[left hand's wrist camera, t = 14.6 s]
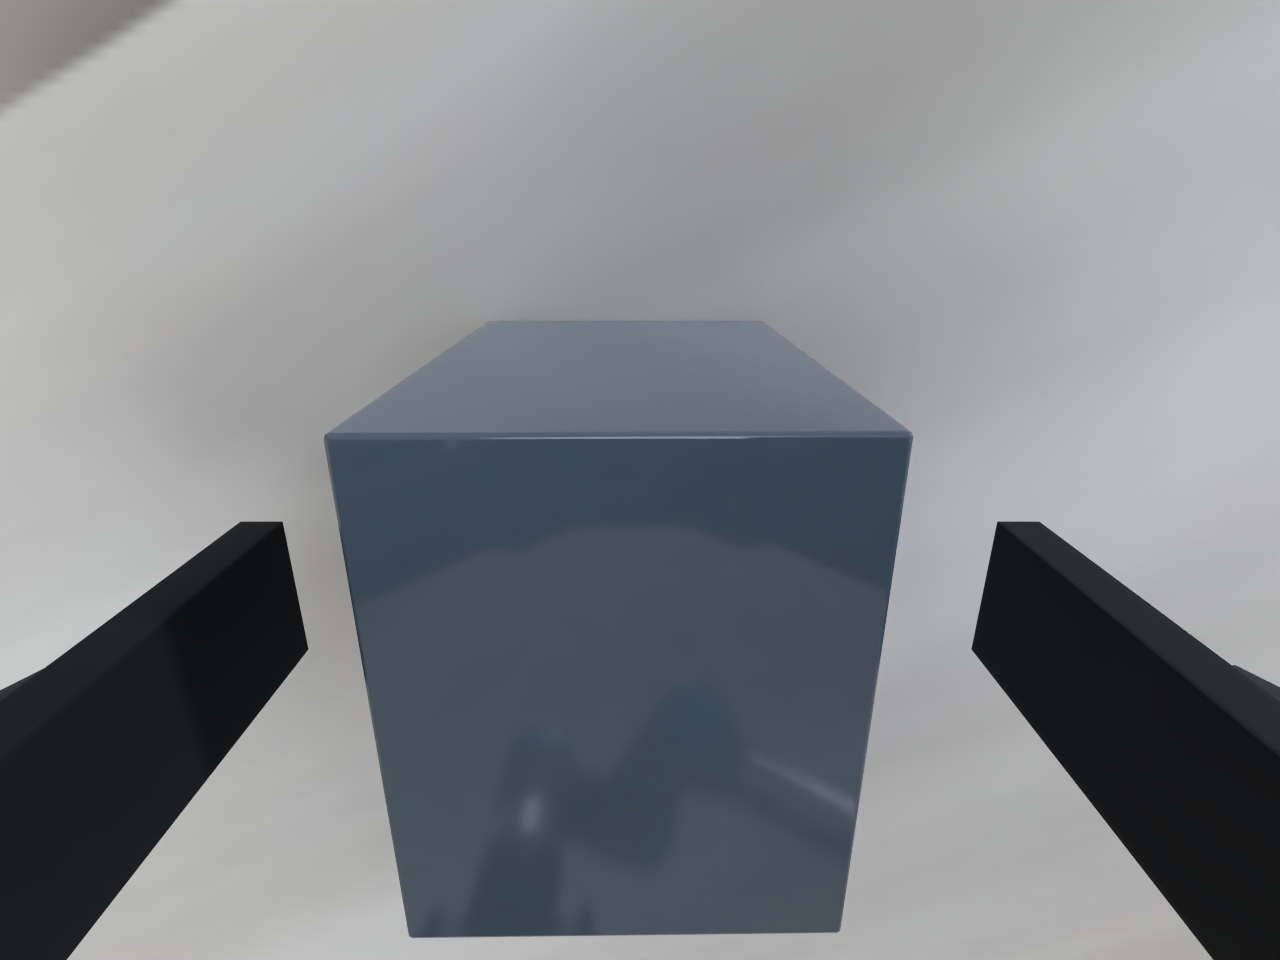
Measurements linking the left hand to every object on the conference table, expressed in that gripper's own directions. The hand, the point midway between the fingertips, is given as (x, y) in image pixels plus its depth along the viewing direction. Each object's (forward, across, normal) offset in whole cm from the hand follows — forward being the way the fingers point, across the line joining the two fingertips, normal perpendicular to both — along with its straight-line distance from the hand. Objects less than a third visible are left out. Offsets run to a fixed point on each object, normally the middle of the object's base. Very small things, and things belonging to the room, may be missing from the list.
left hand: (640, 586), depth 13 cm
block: (+6, 0, 0) cm, 6 cm away
